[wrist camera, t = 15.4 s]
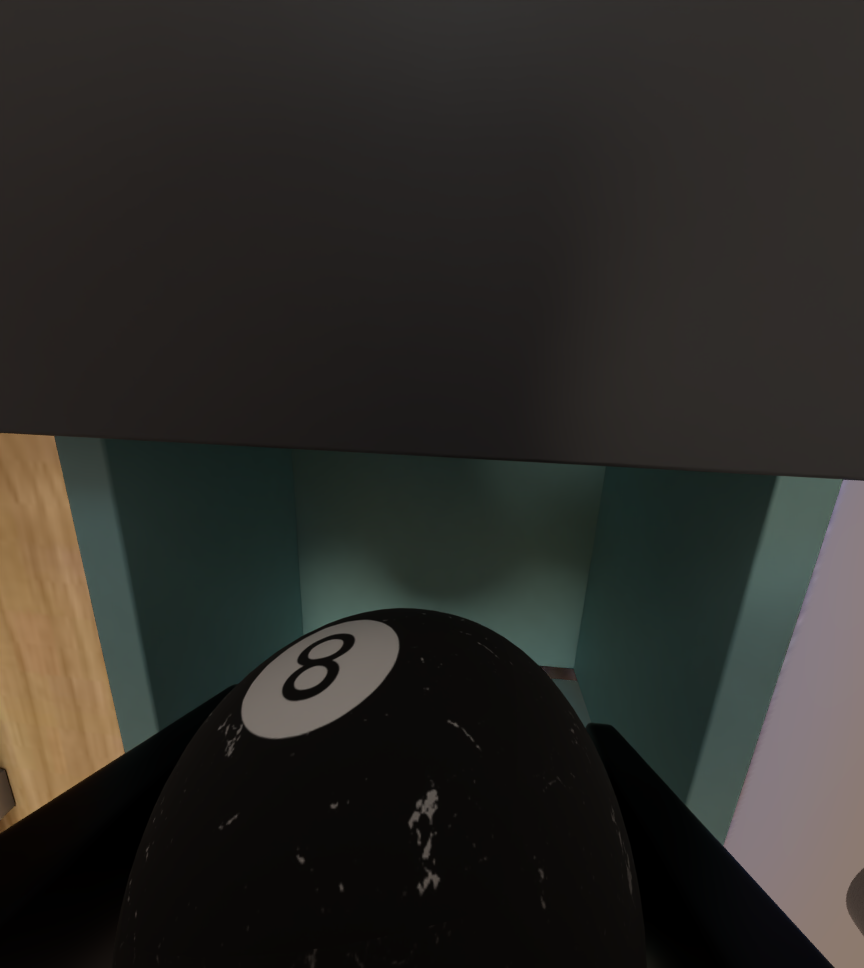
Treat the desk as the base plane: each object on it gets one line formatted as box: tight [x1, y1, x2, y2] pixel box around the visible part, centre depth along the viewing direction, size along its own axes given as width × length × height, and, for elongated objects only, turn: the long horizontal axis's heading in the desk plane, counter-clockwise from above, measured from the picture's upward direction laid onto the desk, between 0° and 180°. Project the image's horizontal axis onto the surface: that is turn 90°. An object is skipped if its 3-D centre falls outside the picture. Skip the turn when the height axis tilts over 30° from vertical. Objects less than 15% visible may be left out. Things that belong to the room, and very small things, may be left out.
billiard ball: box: [111, 608, 647, 968], centre depth 6 cm, size 6×6×6 cm
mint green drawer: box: [55, 436, 843, 845], centre depth 10 cm, size 23×12×8 cm, turn 178°
